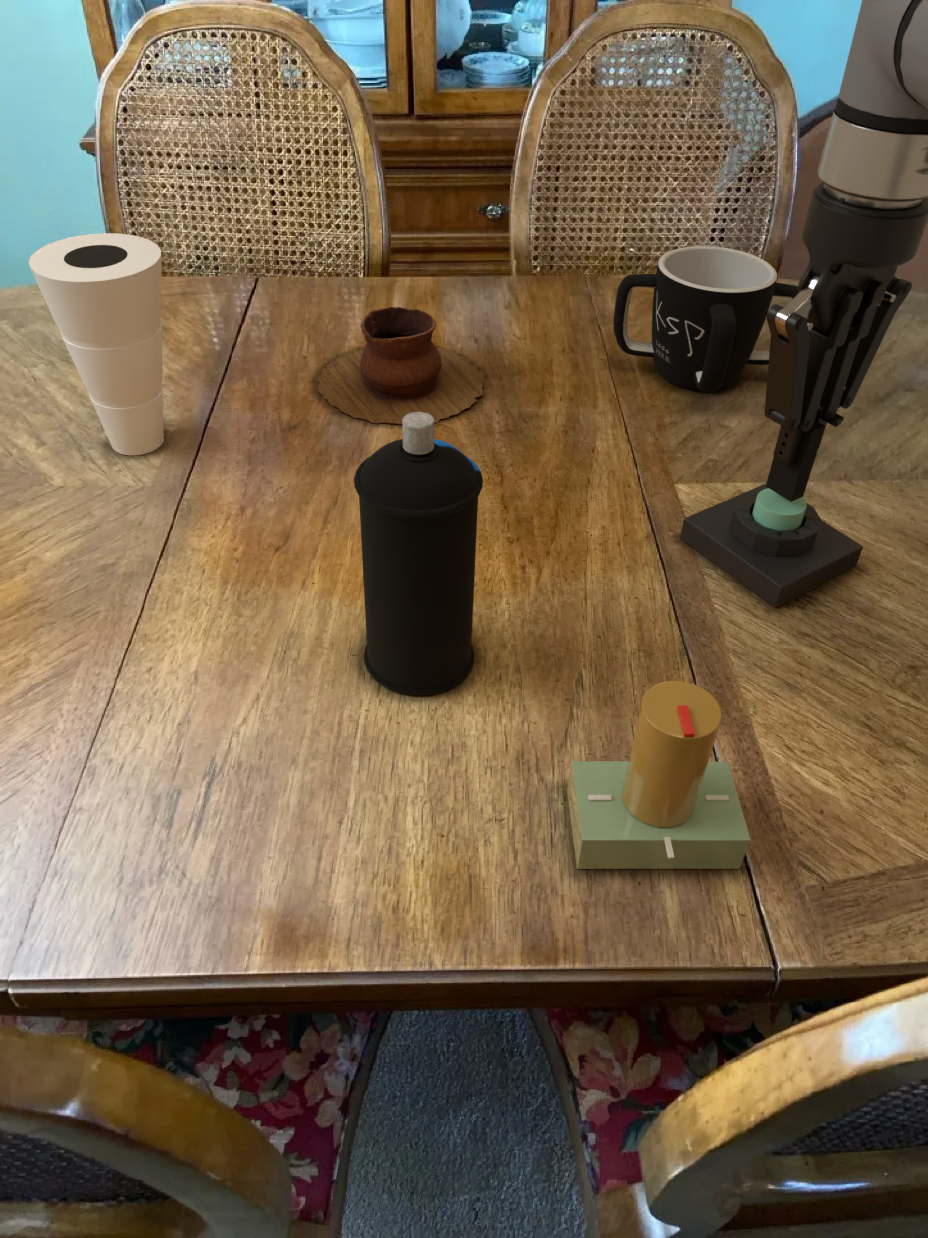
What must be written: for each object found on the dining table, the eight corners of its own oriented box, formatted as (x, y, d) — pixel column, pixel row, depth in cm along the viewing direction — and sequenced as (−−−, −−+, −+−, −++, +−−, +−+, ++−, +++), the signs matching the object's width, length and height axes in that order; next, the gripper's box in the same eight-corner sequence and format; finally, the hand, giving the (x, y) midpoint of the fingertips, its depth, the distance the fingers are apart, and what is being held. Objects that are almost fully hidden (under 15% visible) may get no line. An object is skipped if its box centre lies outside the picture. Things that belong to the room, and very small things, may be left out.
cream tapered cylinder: (66, 431, 94) (14, 246, 82) (172, 404, 99) (137, 225, 87) (99, 484, 87) (48, 291, 76) (210, 452, 92) (179, 266, 80)
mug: (593, 360, 108) (606, 254, 100) (697, 329, 115) (717, 227, 107) (693, 424, 98) (717, 312, 90) (801, 386, 105) (832, 278, 97)
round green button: (811, 522, 80) (817, 505, 79) (778, 538, 78) (783, 520, 77) (775, 499, 82) (780, 482, 81) (742, 513, 80) (746, 496, 79)
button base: (856, 567, 81) (870, 528, 79) (775, 608, 77) (787, 569, 74) (759, 503, 88) (769, 466, 85) (679, 538, 84) (687, 500, 81)
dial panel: (714, 775, 64) (724, 743, 62) (745, 888, 58) (757, 857, 55) (564, 774, 64) (569, 743, 62) (578, 888, 57) (584, 857, 55)
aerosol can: (435, 713, 67) (438, 470, 54) (341, 668, 71) (322, 428, 57) (494, 646, 73) (510, 410, 60) (404, 607, 76) (400, 374, 63)
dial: (617, 769, 60) (637, 676, 55) (687, 770, 60) (713, 676, 55) (627, 828, 57) (649, 734, 51) (701, 828, 57) (730, 734, 52)
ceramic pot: (303, 420, 97) (296, 355, 92) (332, 341, 110) (327, 281, 106) (481, 430, 96) (484, 365, 92) (488, 349, 110) (491, 289, 105)
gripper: (856, 225, 58) (763, 540, 73) (984, 190, 63) (873, 489, 79) (762, 188, 62) (693, 492, 78) (890, 158, 68) (802, 447, 84)
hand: (784, 490), depth 78 cm, fingers closed
